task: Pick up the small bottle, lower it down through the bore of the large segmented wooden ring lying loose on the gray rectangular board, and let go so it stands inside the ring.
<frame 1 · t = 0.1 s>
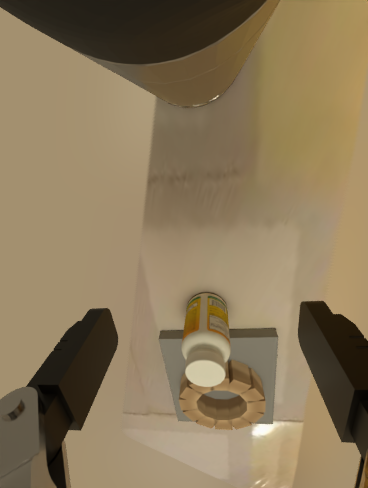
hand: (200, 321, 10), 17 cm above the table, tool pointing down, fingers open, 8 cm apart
gray rectangular board: (220, 376, 38), on the table
supplement bottle: (206, 306, 32), on the table
segmented wooden ring: (220, 385, 36), point 1 cm above the table, touching gray rectangular board
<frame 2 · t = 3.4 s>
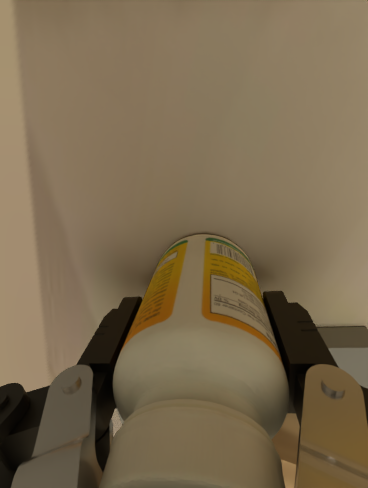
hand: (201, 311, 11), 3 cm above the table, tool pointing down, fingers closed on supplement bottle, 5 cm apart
gray rectangular board: (231, 426, 19), on the table
supplement bottle: (203, 273, 14), on the table, touching gripper
segmented wooden ring: (233, 448, 17), point 1 cm above the table, touching gray rectangular board
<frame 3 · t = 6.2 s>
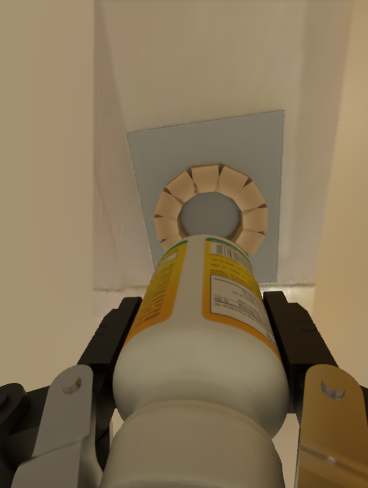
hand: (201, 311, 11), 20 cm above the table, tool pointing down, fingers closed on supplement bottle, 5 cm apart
gray rectangular board: (209, 211, 30), on the table
supplement bottle: (203, 273, 14), point 17 cm above the table, touching gripper
segmented wooden ring: (209, 215, 28), point 1 cm above the table, touching gray rectangular board
when the fingers open (6 cm above the table, at t = 9.2 s): supplement bottle drops 2 cm, resting on gray rectangular board.
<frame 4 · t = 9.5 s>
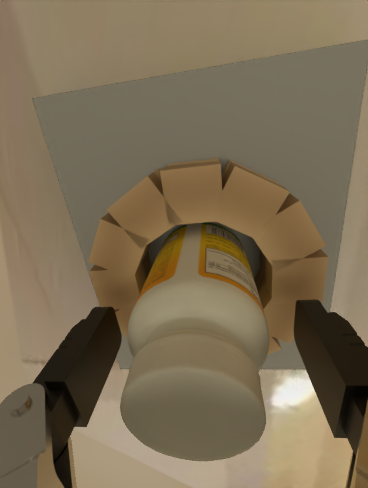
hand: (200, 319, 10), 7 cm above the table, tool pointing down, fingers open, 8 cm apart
gray rectangular board: (204, 249, 17), on the table
supplement bottle: (201, 256, 15), point 1 cm above the table, touching gray rectangular board
segmented wooden ring: (203, 259, 15), point 1 cm above the table, touching gray rectangular board
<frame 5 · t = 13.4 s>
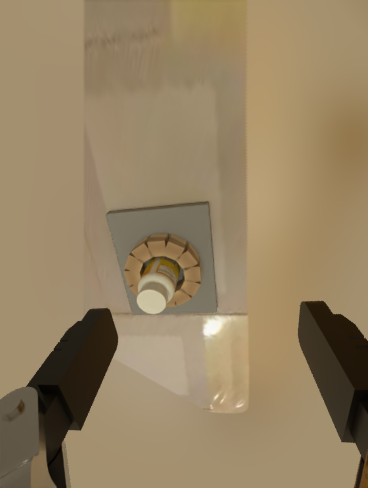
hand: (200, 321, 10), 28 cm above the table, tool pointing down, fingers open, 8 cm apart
gray rectangular board: (166, 262, 41), on the table
supplement bottle: (164, 265, 40), point 1 cm above the table, touching gray rectangular board
segmented wooden ring: (165, 266, 40), point 1 cm above the table, touching gray rectangular board
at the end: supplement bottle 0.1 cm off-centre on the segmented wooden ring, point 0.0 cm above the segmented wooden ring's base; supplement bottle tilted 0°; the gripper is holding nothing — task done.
